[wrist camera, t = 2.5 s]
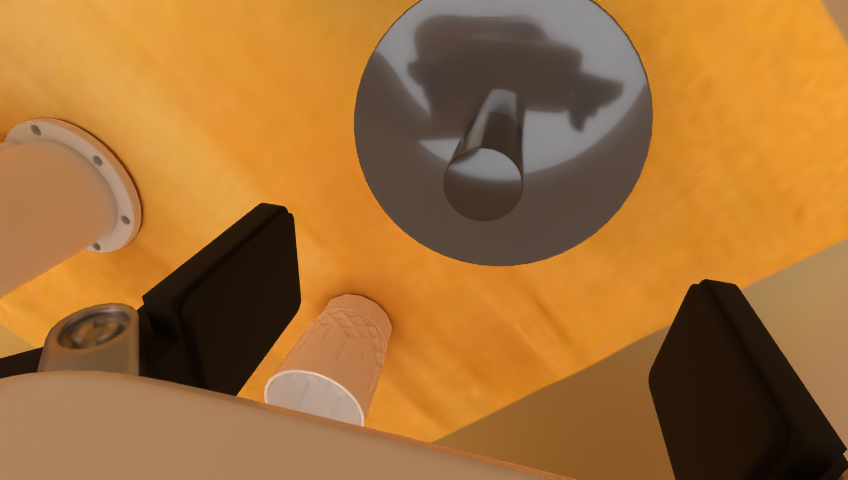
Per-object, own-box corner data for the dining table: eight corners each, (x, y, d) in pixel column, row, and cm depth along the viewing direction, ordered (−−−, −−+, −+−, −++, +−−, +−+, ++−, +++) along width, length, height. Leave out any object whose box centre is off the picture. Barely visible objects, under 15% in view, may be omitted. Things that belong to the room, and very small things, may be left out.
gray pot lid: (329, 186, 24) (272, 242, 19) (426, -90, 17) (379, -124, 12) (542, 292, 24) (545, 376, 19) (718, 67, 18) (799, 101, 12)
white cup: (371, 277, 38) (326, 360, 30) (413, 343, 41) (383, 436, 33) (302, 301, 41) (243, 382, 33) (346, 361, 44) (302, 451, 36)
